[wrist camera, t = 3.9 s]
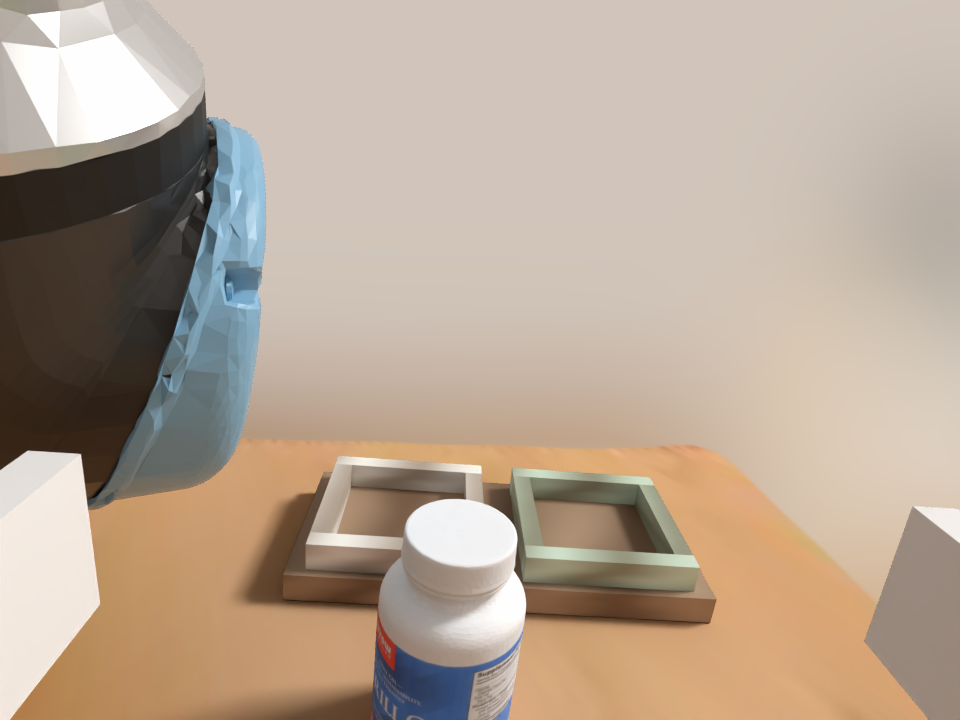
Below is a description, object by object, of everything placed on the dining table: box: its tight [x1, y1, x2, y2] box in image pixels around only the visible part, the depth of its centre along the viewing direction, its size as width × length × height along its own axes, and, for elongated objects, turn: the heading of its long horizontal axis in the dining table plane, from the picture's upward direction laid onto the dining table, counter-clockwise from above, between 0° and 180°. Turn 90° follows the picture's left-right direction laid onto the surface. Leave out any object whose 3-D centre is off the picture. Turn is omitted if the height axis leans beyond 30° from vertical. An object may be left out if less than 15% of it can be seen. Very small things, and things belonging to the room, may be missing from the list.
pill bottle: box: [371, 499, 526, 720], centre depth 23 cm, size 6×5×10 cm
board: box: [283, 456, 716, 623], centre depth 36 cm, size 22×10×3 cm, turn 92°
